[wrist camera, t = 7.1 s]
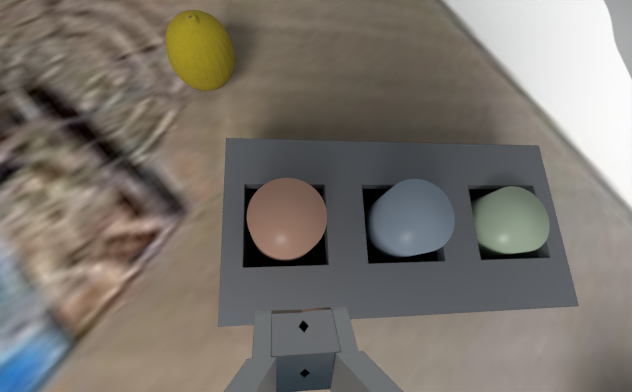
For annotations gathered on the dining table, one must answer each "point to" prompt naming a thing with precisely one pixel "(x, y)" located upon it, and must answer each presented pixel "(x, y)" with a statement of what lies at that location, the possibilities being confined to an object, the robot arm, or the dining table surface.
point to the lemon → (200, 50)
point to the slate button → (410, 219)
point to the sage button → (509, 222)
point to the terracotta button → (286, 218)
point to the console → (350, 236)
